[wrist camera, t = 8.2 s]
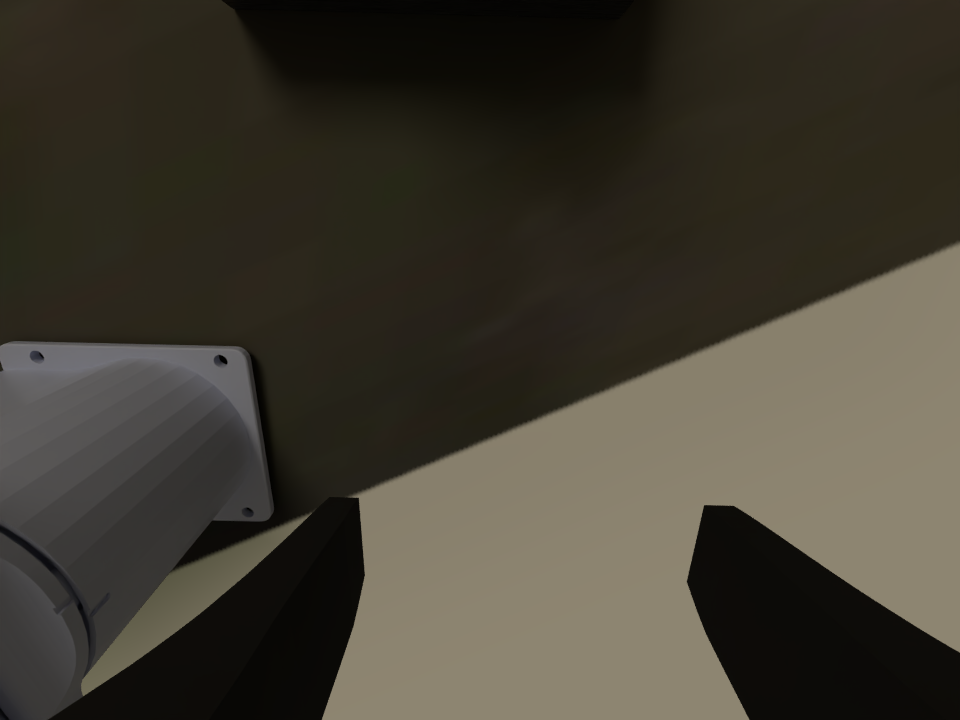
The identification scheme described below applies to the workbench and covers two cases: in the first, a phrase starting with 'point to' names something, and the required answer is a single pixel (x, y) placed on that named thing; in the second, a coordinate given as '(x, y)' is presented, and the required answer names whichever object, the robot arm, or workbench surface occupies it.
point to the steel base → (452, 7)
